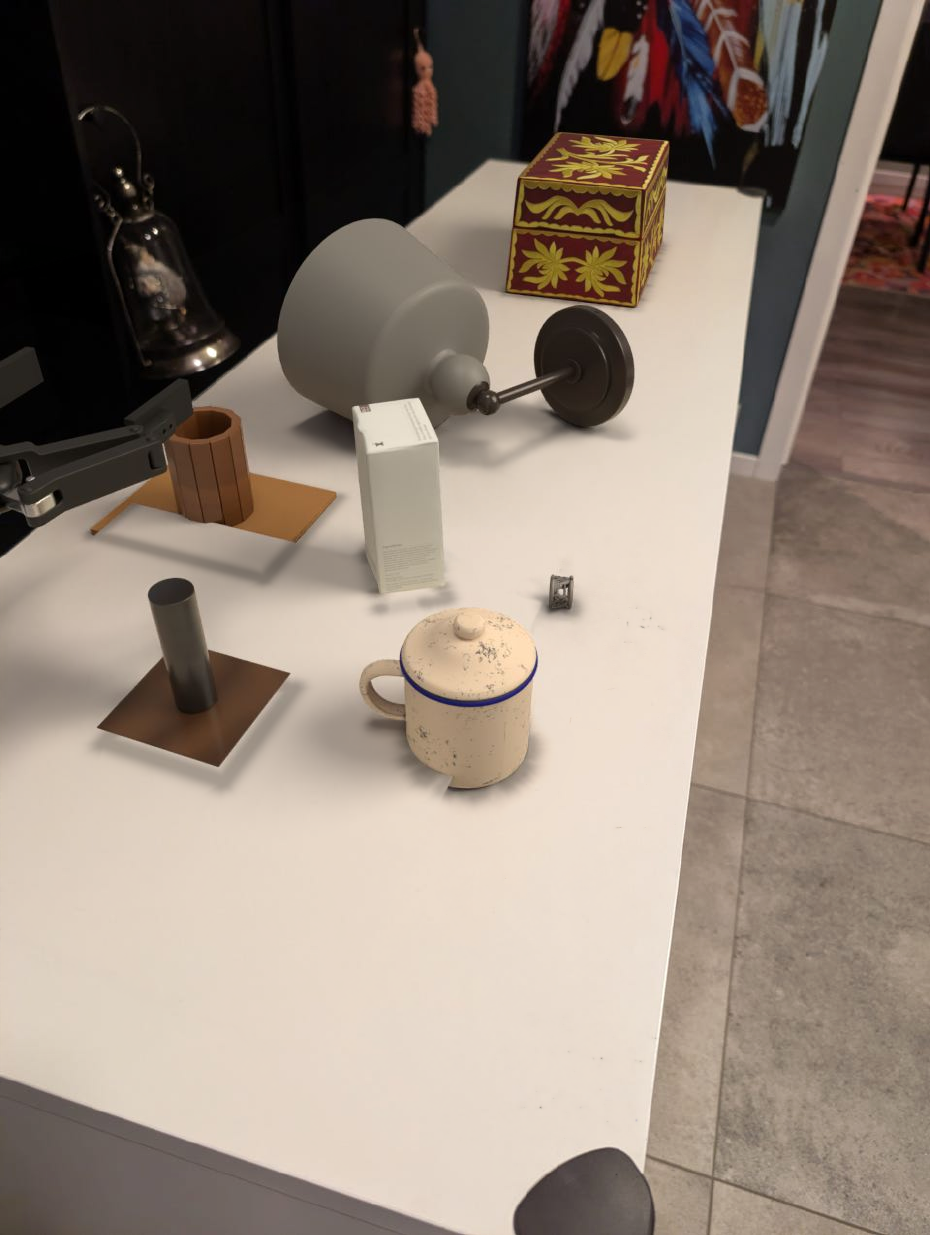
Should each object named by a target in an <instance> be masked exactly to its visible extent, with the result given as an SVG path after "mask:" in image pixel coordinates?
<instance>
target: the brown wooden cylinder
mask: <svg viewBox="0 0 930 1235" xmlns="http://www.w3.org/2000/svg"><path fill="white" fill-rule="evenodd" d="M193 411H194V414H193V415H192V416H191V417H189V418H188V419H187V420H186V421H184V422H183V423H182V424H181V425H179V426H178V427H177V431H176V433H175V434H174V435H173V436H171V437H170V438H169V439H167V440H166V441H165V442H164V443H163V449H164V454H165V458H166V463H167V465H168V466H169V471H170V476H171V480H172V485H173V489H174V494H175V499H176V503H177V508H178V512H179V514H178V515H179V516H182V517H184V518H185V519H186V520H188V521H193V522H196V523H201V524H217V525H221V526H225V527H228V528H233V526H235V525H238V524H240V523H242V522H244V521H245V520H246V519H247V518H248V517H249V516H250V515H251V514H252V513H253V512H254V500H253V493H252V487H251V481H250V474H249V472H250V470H249V462H248V455H247V449H246V444H245V437H244V431H243V430H244V429H243V423H242V417H241V416H240V415H239V414H237V413H236V412H235V411H233V410H232V409H229V408H226V407H220V406H215V405H214V406H213V405H203V406H193Z"/></svg>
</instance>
